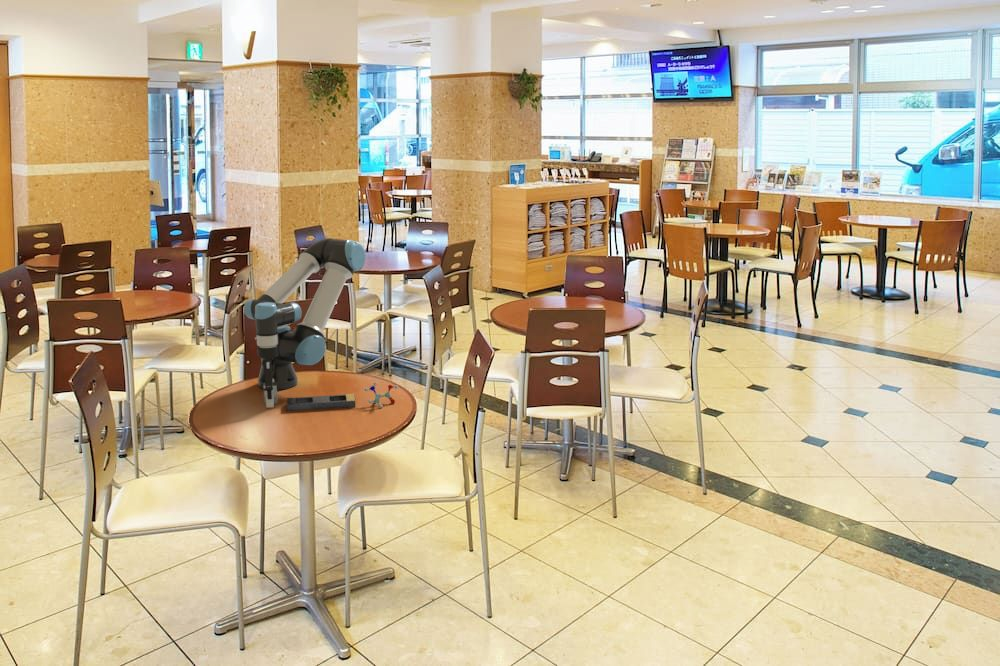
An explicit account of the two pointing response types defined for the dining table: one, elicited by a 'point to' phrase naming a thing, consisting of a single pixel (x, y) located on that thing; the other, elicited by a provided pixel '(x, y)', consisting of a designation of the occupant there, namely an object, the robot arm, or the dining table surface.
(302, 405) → the grey slotted frame
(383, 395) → the molecular model
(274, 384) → the light grey rectangular block
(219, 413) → the dining table surface
